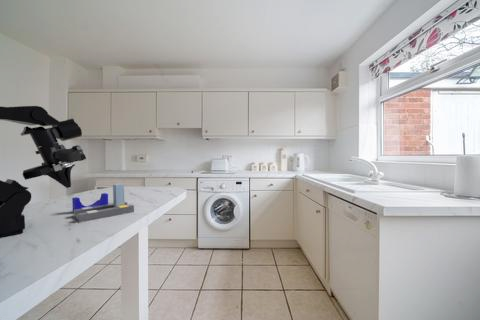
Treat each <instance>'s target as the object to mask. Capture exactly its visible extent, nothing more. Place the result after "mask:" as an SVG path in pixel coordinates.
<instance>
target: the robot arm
mask: <svg viewBox="0 0 480 320" xmlns="http://www.w3.org/2000/svg"><path fill="white" fill-rule="evenodd" d="M0 121H7V122H11V123H15V124H19V125H20V124H21V125H25V127H23V130H22V131H21V133H20V136H28V135H30V137H31V139H32V141H33V143H34V145H35V146H36V149H37V150H35V154H36V155H40V157H41V159H42V161H43V162H41V165H37V166H34V167H30V168H27V169H24V170H23V171H22V177H23V178H24V180H25V181H26V180H30V179H34V178H39V177H42V176H48V177H49V178H51V179H53V180H55V181H56V182H57V183H59V184H60V185H62V186H63V187H65V188H66V189H69V188H71V187H72V179H71V176H72V175H71V172H72V169H73V167H75V166H76V165H75V164H72V163H74V162H81V161H85V160H87V156H86V154H84V150H83V148H82V147H81V145H77V144H76V145H73V146H72V147H71V148H66V146H65V145H64V144H63V143H62V144H60V143H59V141H58V140H60V141H62V142H65V141H70V140H73V139H76V138H80V137H82V135H83V133H82V128H81V127H80V125H79V124H78V122H76V121H75V120H74V118H68V119H66V120H61V121H60V120H58V119H56V118H55V117H53V116H51V114H49V112H48V111H47V110H46V109H45V108H44V107H42V106H40V105H39V106H38V105H21V106H0ZM29 126H36V127H29ZM28 189H29V187H26V186H25V185H24V186H23V185H22V184H20V183H19V182H18V181H17V180H15V179H9V178H7V179H6V180H5V181H3V180H0V238H3V237H9V236H14V235H19V234H23V233H24V230H25V229H26V219H25V214H23V212H24V210H25V207H26V206H27V205H29V203H30V202H31V200H32V193H31V192H30V191H29V190H28Z"/></svg>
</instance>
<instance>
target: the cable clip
mask: <svg viewBox="0 0 480 320" xmlns="http://www.w3.org/2000/svg"><path fill="white" fill-rule="evenodd" d="M71 201H72V203H71V204H72V213H73V214H74V210H75V209H81V208H85V207H94V206H101V205H107V204H109V193H106V192H103V193H101V194H100V198H99V199H97V200H96V201H94V203H91V204H89V205H84V204H83V203H82V202H81V199H80V198H79V197H76V196H75V197H72V199H71Z"/></svg>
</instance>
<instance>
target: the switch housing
mask: <svg viewBox="0 0 480 320" xmlns="http://www.w3.org/2000/svg"><path fill="white" fill-rule="evenodd" d="M134 212H135V205H133V204H128V202H126V201H125V205H122V206H118V207H114V205H113V202H112V203H108V204H107V205H101V206H94V207H85V208H81V209H75V210H74V213H73V217H74V218H75V219H76V220H77V222H79V223H84V222H90V221H93V220H100V219H104V218H110V217H114V216H119V215H124V214H129V213H134Z"/></svg>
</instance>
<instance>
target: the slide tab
mask: <svg viewBox="0 0 480 320" xmlns="http://www.w3.org/2000/svg"><path fill="white" fill-rule="evenodd" d="M112 192H113V193H112V199H113V202H112V203H113V205H114V207H118V206H122V205H125V202H126V201H125V184H123V183H113V184H112Z"/></svg>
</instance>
